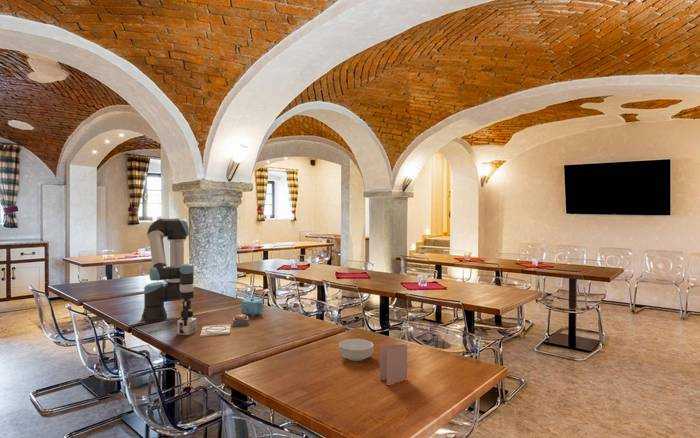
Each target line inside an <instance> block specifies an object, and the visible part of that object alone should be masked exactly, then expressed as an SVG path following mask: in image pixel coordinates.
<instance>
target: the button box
mask: <svg viewBox="0 0 700 438" xmlns="http://www.w3.org/2000/svg"><path fill="white" fill-rule="evenodd" d="M232 326H233V327H239V326H240V327H242V326H249V315H248V316H246V319H243V320H236V316H233V318H232Z"/></svg>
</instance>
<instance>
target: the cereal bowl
mask: <svg viewBox="0 0 700 438" xmlns="http://www.w3.org/2000/svg"><path fill="white" fill-rule="evenodd" d="M374 347H375V345H374V343H373V342H372V341H370V340H367V339H361V338H350V339H349V338H348V339H344V340H342V341H340V342H339V343H338V350H339V353H340V354H341V356H342V357H344V358H345V359H348V360H349V361H353V362H360V361H364V360H366V359H367V358H369V357H371V356H372V354H373V353H374Z"/></svg>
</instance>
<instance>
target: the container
mask: <svg viewBox="0 0 700 438" xmlns="http://www.w3.org/2000/svg"><path fill="white" fill-rule="evenodd" d="M182 318H183V310H181V311H180V319H178V320H177V321H176V322H177V323H176V325H177V326H176V327H177V328H176V329H177V330H176V331H177V332H176V333H177V335H181V336H182V335H183V336H185V335H186V336H191V335H192V334H194V333H196V332H197V331H198V330H197V329H198V327H197V325H198V324H197V318H196V317H194V311H193V310H192V309H191V310H188V331H185V332H183V320H181V319H182ZM184 318H186V317H184Z"/></svg>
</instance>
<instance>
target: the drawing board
mask: <svg viewBox="0 0 700 438" xmlns="http://www.w3.org/2000/svg"><path fill="white" fill-rule="evenodd" d="M231 326H232V325H231V323H229V324H216V325H203V326H202V328H201V330H200V331H201V332H200V335H199V337H200V338H204V337H216V336H230V335H231V328H232V327H231Z"/></svg>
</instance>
